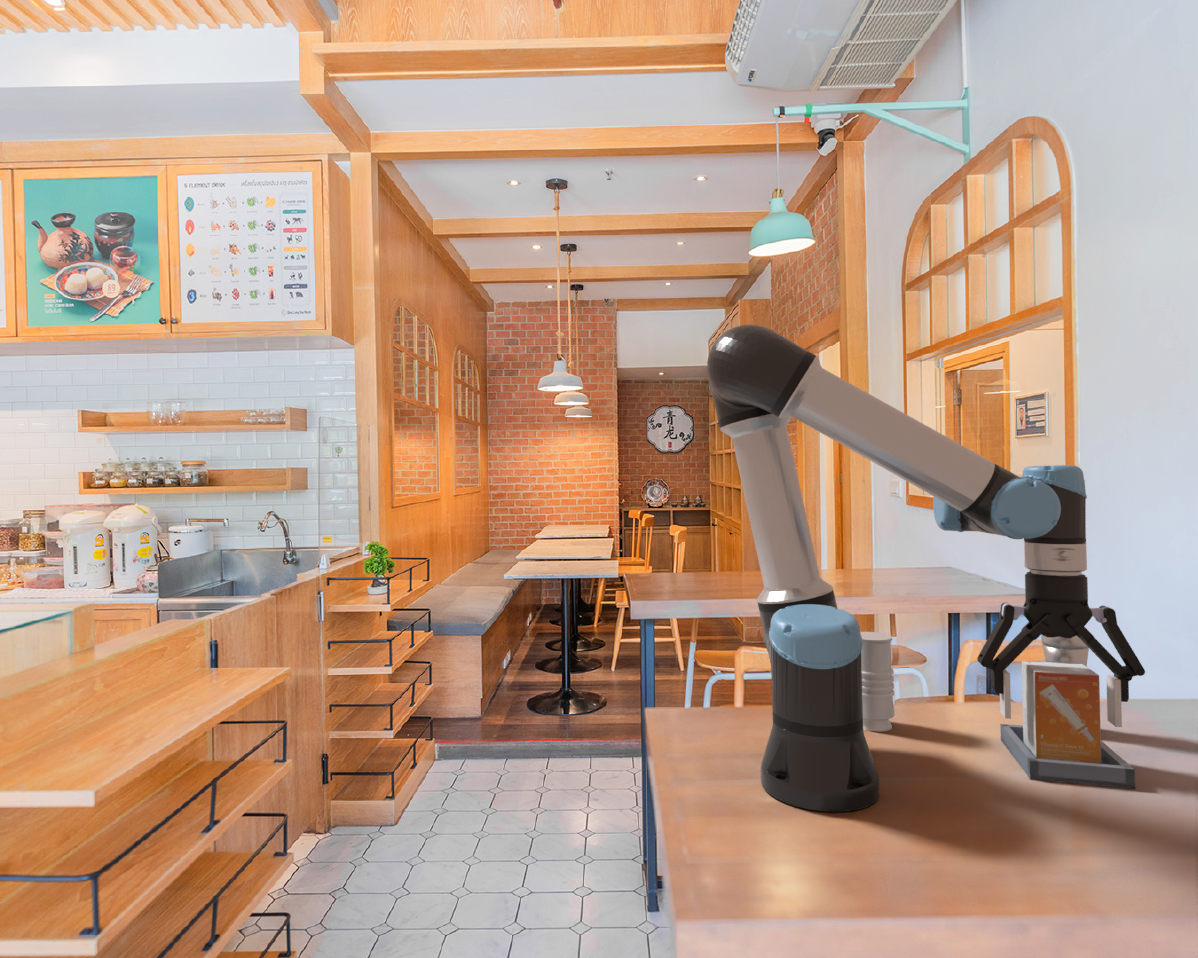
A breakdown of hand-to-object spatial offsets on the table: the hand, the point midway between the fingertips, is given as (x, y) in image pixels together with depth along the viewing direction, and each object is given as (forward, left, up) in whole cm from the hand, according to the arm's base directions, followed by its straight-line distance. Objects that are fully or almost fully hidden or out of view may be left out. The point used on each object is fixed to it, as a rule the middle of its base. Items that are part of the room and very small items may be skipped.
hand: (1059, 719), depth 98 cm
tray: (0, 0, -6) cm, 6 cm away
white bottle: (-24, +10, -6) cm, 27 cm away
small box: (0, 0, -6) cm, 6 cm away
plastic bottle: (+6, +15, -6) cm, 17 cm away
